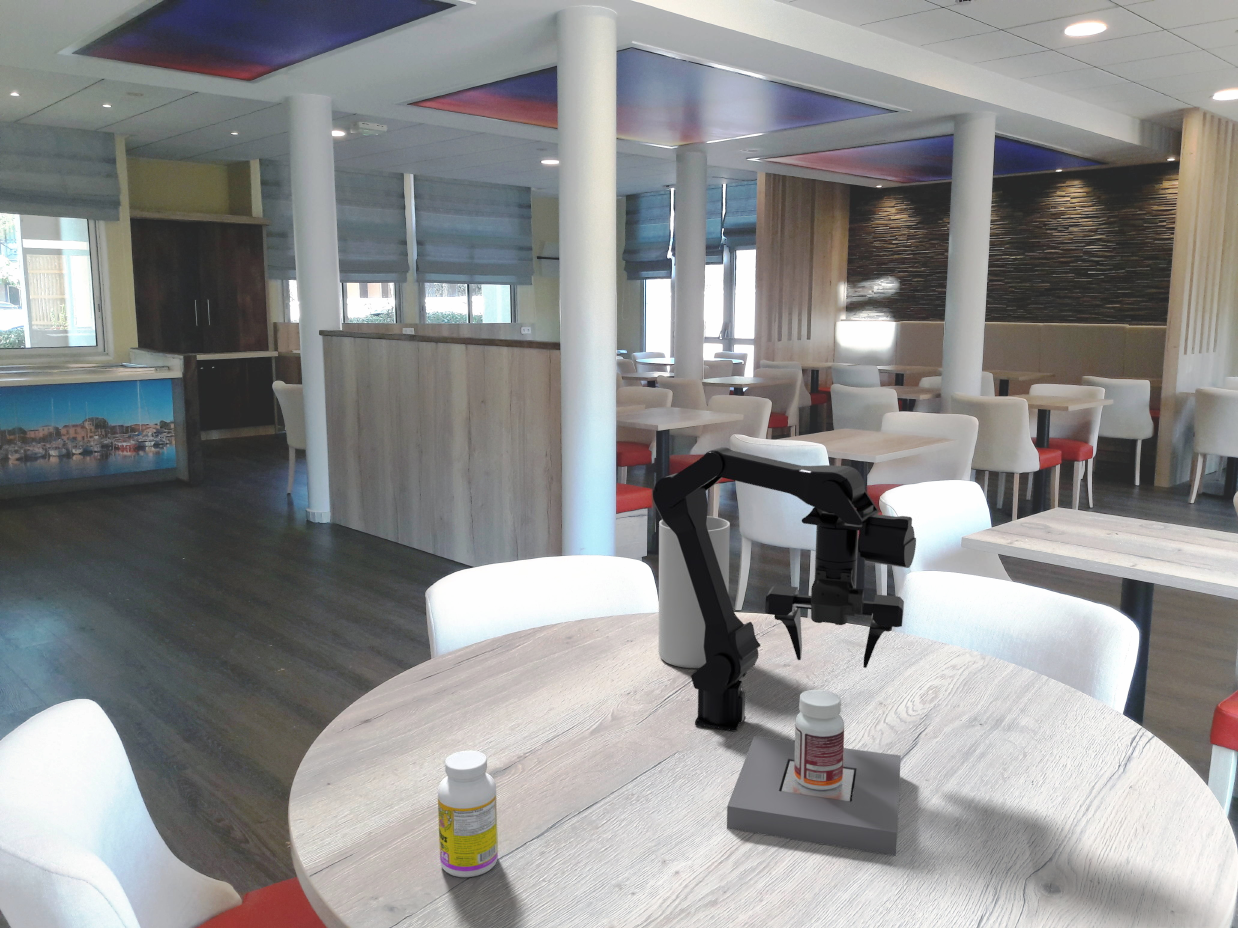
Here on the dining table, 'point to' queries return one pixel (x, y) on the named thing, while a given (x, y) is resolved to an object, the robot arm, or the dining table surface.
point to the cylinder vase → (685, 596)
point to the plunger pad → (837, 793)
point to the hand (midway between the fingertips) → (831, 662)
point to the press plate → (818, 800)
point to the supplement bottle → (467, 816)
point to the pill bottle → (819, 740)
